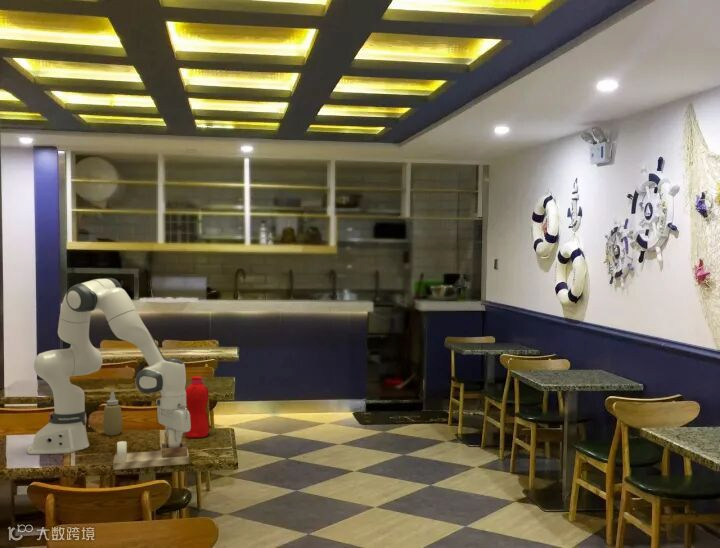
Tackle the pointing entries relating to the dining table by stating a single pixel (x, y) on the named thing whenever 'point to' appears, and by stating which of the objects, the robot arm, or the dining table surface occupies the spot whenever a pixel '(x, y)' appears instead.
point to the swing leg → (121, 451)
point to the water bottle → (197, 408)
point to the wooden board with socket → (155, 458)
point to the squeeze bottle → (112, 417)
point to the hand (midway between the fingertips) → (174, 440)
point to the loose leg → (173, 439)
